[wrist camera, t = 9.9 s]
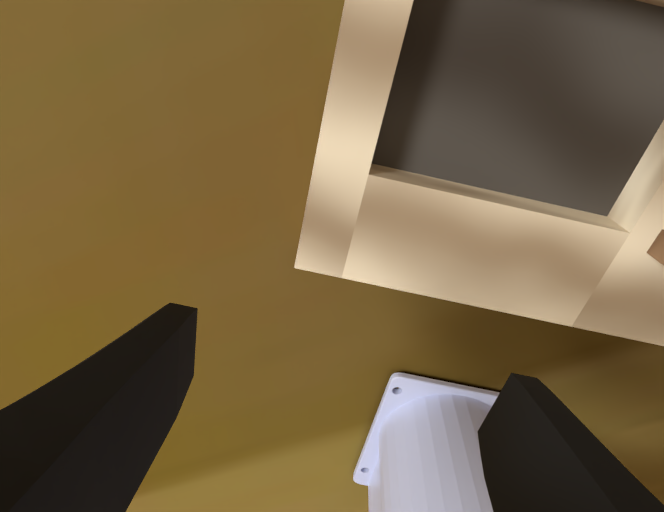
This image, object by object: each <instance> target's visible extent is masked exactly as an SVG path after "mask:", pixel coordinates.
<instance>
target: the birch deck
mask: <svg viewBox="0 0 664 512" xmlns="http://www.w3.org/2000/svg"><path fill="white" fill-rule="evenodd" d="M662 229H663V230H664V0H345V3H344V8H343V13H342V19H341V24H340V29H339V34H338V40H337V45H336V50H335V56H334V61H333V66H332V71H331V77H330V82H329V87H328V93H327V98H326V103H325V108H324V114H323V119H322V124H321V129H320V135H319V140H318V145H317V151H316V156H315V161H314V166H313V172H312V177H311V182H310V188H309V193H308V198H307V203H306V209H305V214H304V219H303V225H302V230H301V235H300V240H299V246H298V251H297V256H296V261H295V267H294V268H297V269H302V270H307V271H311V272H316V273H321V274H326V275H330V276H335V277H340V278H344V279H349V280H354V281H359V282H363V283H368V284H373V285H377V286H382V287H387V288H392V289H396V290H401V291H406V292H410V293H415V294H420V295H425V296H429V297H434V298H439V299H443V300H448V301H453V302H458V303H462V304H467V305H472V306H476V307H481V308H486V309H491V310H495V311H500V312H505V313H509V314H514V315H519V316H524V317H528V318H533V319H538V320H542V321H547V322H552V323H557V324H561V325H566V326H571V327H575V328H580V329H585V330H590V331H594V332H599V333H604V334H608V335H613V336H618V337H623V338H627V339H632V340H637V341H641V342H646V343H651V344H656V345H660V346H664V266H663V265H662V264H661V263H659V262H658V261H657V260H655V259H654V258H653V257H651V256H650V255H649V254H647V253H646V252H647V251H648V249H649V248H650V246H651V245H652V243H653V242H654V240H655V239H656V237H657V236H658V234H659V233H660V231H661V230H662Z"/></svg>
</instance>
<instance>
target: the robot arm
mask: <svg viewBox="0 0 664 512" xmlns="http://www.w3.org/2000/svg"><path fill="white" fill-rule="evenodd" d="M196 325H197V308H193V307H189V306H184V305H179V304H174V303H169V304H167V305H165V306H164V307H162V308H161V309H159V310H158V311H157V312H155V313H154V314H152V315H151V316H149V317H148V318H146V319H145V320H144V321H142V322H141V323H139V324H138V325H136V326H135V327H134V328H132V329H131V330H129V331H128V332H126V333H125V334H123V335H122V336H120V337H119V338H118V339H116V340H115V341H113V342H112V343H110V344H108V345H107V346H105V347H104V348H102V349H101V350H99V351H98V352H96V353H95V354H93V355H92V356H90V357H89V358H87V359H86V360H84V361H83V362H81V363H79V364H78V365H76V366H75V367H73V368H72V369H70V370H68V371H67V372H65V373H63V374H62V375H60V376H58V377H57V378H55V379H53V380H52V381H50V382H48V383H47V384H45V385H43V386H42V387H40V388H38V389H37V390H35V391H33V392H32V393H30V394H28V395H26V396H25V397H23V398H21V399H19V400H18V401H16V402H14V403H12V404H10V405H9V406H7V407H5V408H3V409H1V410H0V512H126V510H127V508H128V506H129V504H130V503H131V501H132V499H133V497H134V495H135V493H136V492H137V490H138V488H139V486H140V484H141V482H142V481H143V479H144V477H145V475H146V473H147V471H148V470H149V468H150V466H151V464H152V462H153V460H154V459H155V457H156V455H157V453H158V451H159V449H160V448H161V446H162V444H163V442H164V440H165V438H166V436H167V435H168V433H169V431H170V429H171V427H172V425H173V423H174V421H175V420H176V418H177V415H178V413H179V410H180V408H181V406H182V403H183V401H184V398H185V396H186V393H187V391H188V388H189V386H190V383H191V381H192V378H193V376H194V360H195V343H196ZM395 387H399V388H398V389H395ZM353 480H354V481H355V482H356V483H358V484H362V485H367V486H368V497H369V512H664V505H663V504H662V503H661V502H660V501H659V500H658V499H657V498H656V497H655V496H654V495H653V494H652V493H651V492H650V491H649V490H647V489H646V488H645V487H644V486H643V485H642V484H641V483H640V482H639V481H638V480H637V479H636V478H635V477H634V476H633V475H632V474H631V473H630V472H629V471H628V470H627V469H626V468H625V467H624V466H623V465H622V464H621V463H620V462H619V461H618V460H617V458H616V457H615V456H614V455H613V454H612V453H611V452H610V451H609V450H608V449H607V448H606V447H605V446H604V445H603V444H602V443H601V442H600V441H599V440H598V439H597V438H596V437H595V436H594V435H593V434H592V433H591V432H590V431H589V430H588V429H587V428H586V427H585V425H584V424H583V423H582V422H581V421H580V420H579V419H578V418H577V417H576V416H575V415H574V414H573V413H572V412H571V411H570V410H569V409H568V408H567V407H566V406H565V405H564V404H563V403H562V402H561V401H560V400H559V399H558V398H557V397H556V396H555V395H554V394H553V393H552V392H551V391H550V390H549V389H548V388H547V387H546V386H545V385H544V384H543V383H542V382H541V381H540V380H539V379H537V378H534V377H529V376H524V375H519V374H514V373H511V374H510V376H509V378H508V380H507V381H506V383H505V385H504V387H503V388H502V390H501V392H495V391H490V390H485V389H480V388H475V387H470V386H465V385H460V384H455V383H450V382H445V381H441V380H436V379H431V378H426V377H421V376H416V375H411V374H406V373H400V372H398V373H394V374H393V375H391V377H390V379H389V381H388V384H387V387H386V389H385V392H384V394H383V397H382V400H381V402H380V405H379V408H378V410H377V413H376V415H375V418H374V421H373V423H372V426H371V429H370V431H369V434H368V436H367V439H366V442H365V444H364V447H363V449H362V452H361V455H360V457H359V460H358V463H357V465H356V468H355V470H354V473H353Z"/></svg>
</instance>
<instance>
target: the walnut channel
mask: <svg viewBox="0 0 664 512" xmlns="http://www.w3.org/2000/svg"><path fill="white" fill-rule="evenodd" d="M646 253H647V254H649V255H650V256H651V257H653V258H654V259H655V260H657V261H658V262H659V263H661V264H662V265H663V266H664V230H663V229H662V230H661V231H660V233H659V234H658V236H657V237H656V239H655V240H654V242H653V243H652V245H651V246H650V248H649V249H648V251H647V252H646Z"/></svg>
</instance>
